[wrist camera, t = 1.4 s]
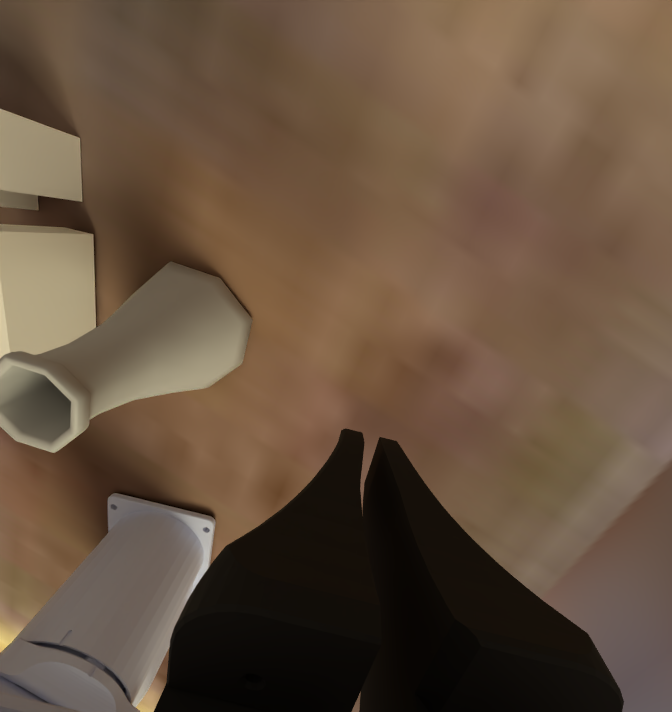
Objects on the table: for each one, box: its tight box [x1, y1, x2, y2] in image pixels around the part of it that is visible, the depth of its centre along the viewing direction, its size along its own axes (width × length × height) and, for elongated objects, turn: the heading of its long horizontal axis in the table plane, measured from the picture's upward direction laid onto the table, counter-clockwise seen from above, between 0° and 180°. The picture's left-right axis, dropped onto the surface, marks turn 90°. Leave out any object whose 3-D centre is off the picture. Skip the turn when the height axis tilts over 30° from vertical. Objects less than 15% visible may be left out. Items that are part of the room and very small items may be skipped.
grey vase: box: [0, 261, 252, 453], centre depth 15 cm, size 7×7×10 cm
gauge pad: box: [0, 224, 96, 358], centre depth 16 cm, size 12×2×6 cm, turn 167°
